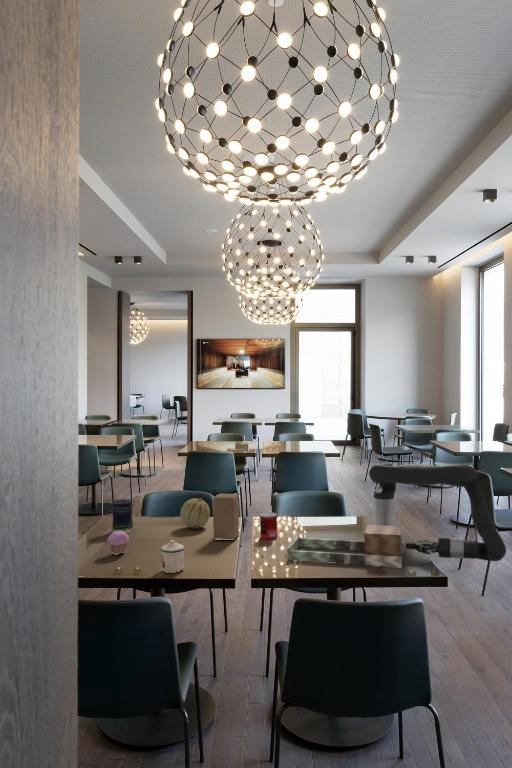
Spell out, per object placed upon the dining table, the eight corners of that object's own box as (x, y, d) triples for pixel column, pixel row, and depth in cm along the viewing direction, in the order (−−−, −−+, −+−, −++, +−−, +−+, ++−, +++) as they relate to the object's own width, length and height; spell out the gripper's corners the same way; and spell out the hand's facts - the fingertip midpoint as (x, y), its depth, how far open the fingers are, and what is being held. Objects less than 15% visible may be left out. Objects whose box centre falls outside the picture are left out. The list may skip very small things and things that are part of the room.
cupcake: (122, 550, 262) (121, 527, 262) (133, 554, 256) (132, 530, 256) (104, 554, 256) (103, 531, 256) (115, 558, 250) (114, 534, 250)
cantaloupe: (180, 525, 306) (180, 495, 305) (209, 523, 307) (209, 494, 307) (180, 532, 291) (179, 501, 291) (210, 531, 293) (210, 500, 292)
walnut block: (401, 555, 248) (401, 526, 248) (401, 565, 235) (400, 535, 235) (367, 553, 252) (366, 524, 252) (364, 563, 238) (364, 533, 238)
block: (234, 541, 273) (233, 497, 272) (213, 541, 275) (212, 497, 274) (239, 536, 282) (238, 493, 282) (218, 535, 284) (217, 493, 284)
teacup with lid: (162, 567, 238) (161, 537, 238) (185, 566, 239) (184, 537, 238) (159, 577, 226) (158, 546, 226) (183, 576, 227) (183, 545, 226)
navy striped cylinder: (110, 530, 296) (110, 500, 296) (130, 528, 301) (129, 498, 300) (114, 535, 287) (114, 504, 287) (135, 533, 292) (134, 502, 291)
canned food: (279, 536, 281) (278, 512, 281) (274, 540, 273) (273, 516, 273) (263, 535, 283) (263, 511, 283) (258, 539, 276) (257, 515, 276)
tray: (403, 552, 251) (403, 540, 251) (402, 567, 231) (401, 554, 231) (297, 546, 263) (297, 535, 263) (287, 560, 243) (287, 548, 243)
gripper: (450, 534, 243) (405, 531, 247) (451, 543, 230) (405, 540, 235) (450, 552, 243) (406, 550, 247) (452, 562, 230) (405, 559, 235)
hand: (405, 545), depth 241 cm, fingers closed
